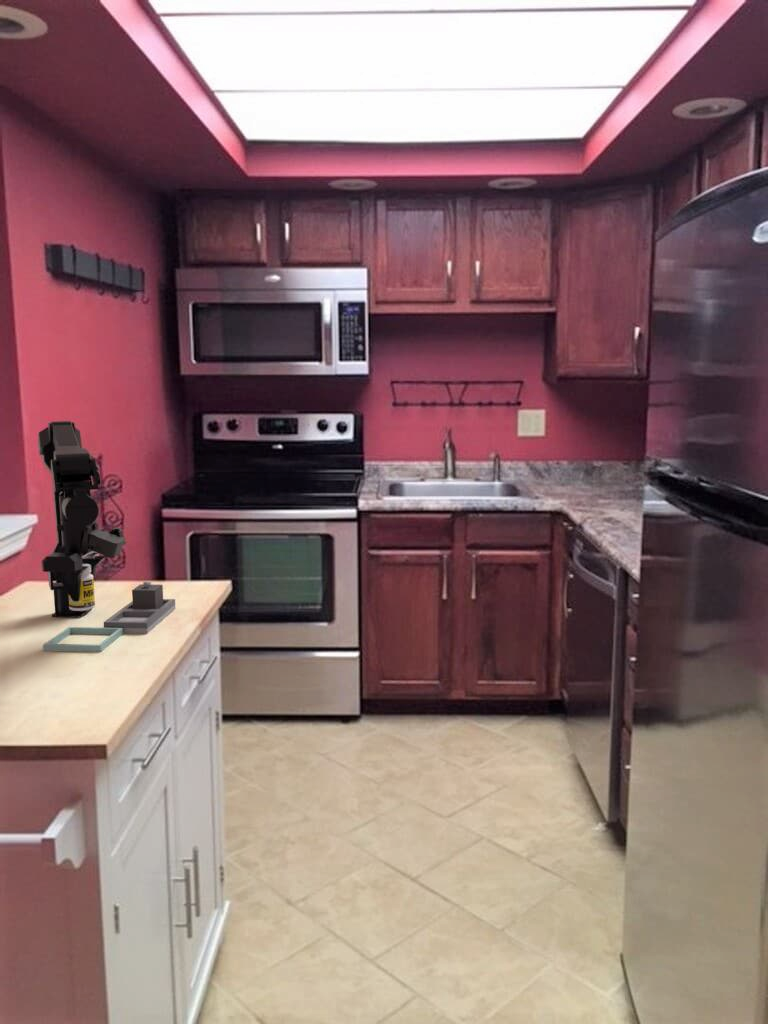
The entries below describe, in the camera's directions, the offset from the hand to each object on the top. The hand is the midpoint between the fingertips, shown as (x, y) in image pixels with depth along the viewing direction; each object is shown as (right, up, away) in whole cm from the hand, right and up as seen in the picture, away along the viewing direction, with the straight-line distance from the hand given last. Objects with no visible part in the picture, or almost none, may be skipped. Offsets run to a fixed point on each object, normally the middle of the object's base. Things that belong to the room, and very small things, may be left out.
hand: (81, 597), depth 163 cm
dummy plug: (+7, -6, +20) cm, 22 cm away
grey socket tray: (+7, -6, +16) cm, 19 cm away
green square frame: (0, -9, +2) cm, 9 cm away
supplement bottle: (0, -2, 0) cm, 2 cm away
